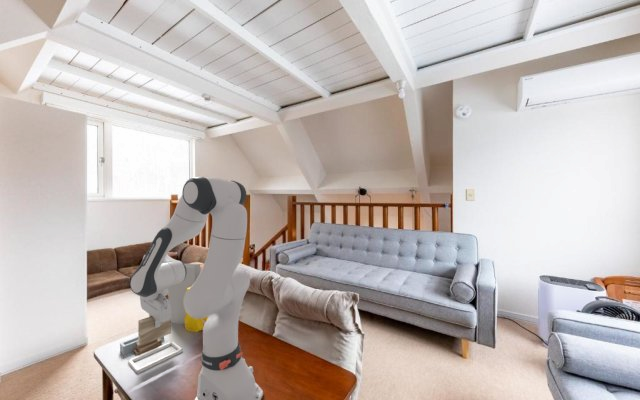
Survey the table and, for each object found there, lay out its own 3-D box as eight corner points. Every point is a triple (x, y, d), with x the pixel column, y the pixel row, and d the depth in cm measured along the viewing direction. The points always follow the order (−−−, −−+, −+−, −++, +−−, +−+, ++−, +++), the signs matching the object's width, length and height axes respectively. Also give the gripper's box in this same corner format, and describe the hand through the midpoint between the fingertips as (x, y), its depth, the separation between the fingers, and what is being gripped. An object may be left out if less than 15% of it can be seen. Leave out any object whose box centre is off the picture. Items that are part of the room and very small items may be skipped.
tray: (182, 353, 104) (182, 348, 104) (137, 376, 92) (137, 370, 91) (172, 345, 110) (172, 341, 110) (128, 365, 97) (128, 360, 97)
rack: (171, 346, 110) (170, 335, 110) (129, 364, 98) (129, 353, 98) (159, 337, 117) (159, 327, 117) (119, 353, 105) (119, 342, 105)
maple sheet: (171, 333, 105) (171, 311, 104) (140, 345, 96) (140, 322, 96) (169, 331, 106) (169, 310, 106) (138, 343, 97) (138, 320, 97)
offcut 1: (157, 341, 107) (157, 338, 107) (137, 348, 102) (137, 345, 102) (155, 338, 110) (155, 335, 110) (135, 345, 105) (135, 342, 105)
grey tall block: (201, 320, 132) (200, 264, 132) (195, 326, 127) (194, 267, 126) (175, 319, 134) (175, 263, 133) (168, 324, 128) (167, 266, 128)
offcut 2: (161, 342, 109) (161, 339, 108) (140, 352, 102) (140, 349, 102) (157, 339, 111) (157, 336, 111) (136, 349, 104) (136, 346, 104)
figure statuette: (215, 329, 123) (214, 285, 123) (203, 338, 116) (202, 291, 115) (187, 324, 129) (186, 281, 128) (174, 331, 121) (173, 286, 121)
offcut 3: (162, 346, 108) (162, 343, 108) (137, 356, 101) (137, 353, 101) (157, 342, 111) (157, 339, 111) (133, 352, 104) (133, 349, 104)
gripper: (175, 295, 97) (175, 330, 97) (154, 283, 109) (154, 315, 109) (157, 300, 92) (157, 337, 92) (136, 287, 104) (137, 320, 104)
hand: (155, 325), depth 101 cm, fingers closed on maple sheet, 2 cm apart
